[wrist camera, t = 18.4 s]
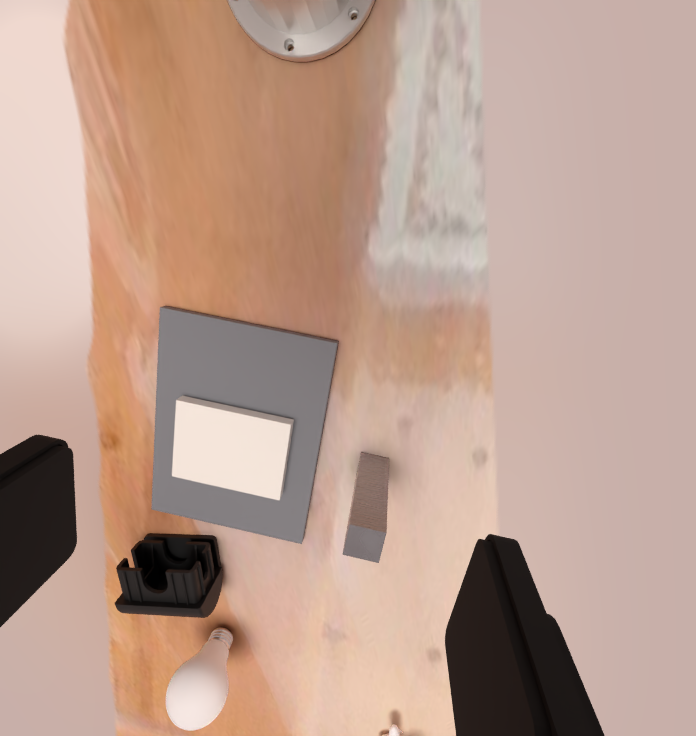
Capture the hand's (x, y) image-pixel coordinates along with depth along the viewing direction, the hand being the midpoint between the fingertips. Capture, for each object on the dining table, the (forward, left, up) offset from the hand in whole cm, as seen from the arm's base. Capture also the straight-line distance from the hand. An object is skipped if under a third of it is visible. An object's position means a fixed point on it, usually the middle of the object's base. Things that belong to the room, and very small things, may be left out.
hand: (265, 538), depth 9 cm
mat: (+15, -11, -32) cm, 37 cm away
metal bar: (+16, +4, -32) cm, 36 cm away
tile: (+12, -11, -31) cm, 35 cm away
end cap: (+34, -16, -33) cm, 50 cm away
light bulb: (+44, -10, -33) cm, 56 cm away
